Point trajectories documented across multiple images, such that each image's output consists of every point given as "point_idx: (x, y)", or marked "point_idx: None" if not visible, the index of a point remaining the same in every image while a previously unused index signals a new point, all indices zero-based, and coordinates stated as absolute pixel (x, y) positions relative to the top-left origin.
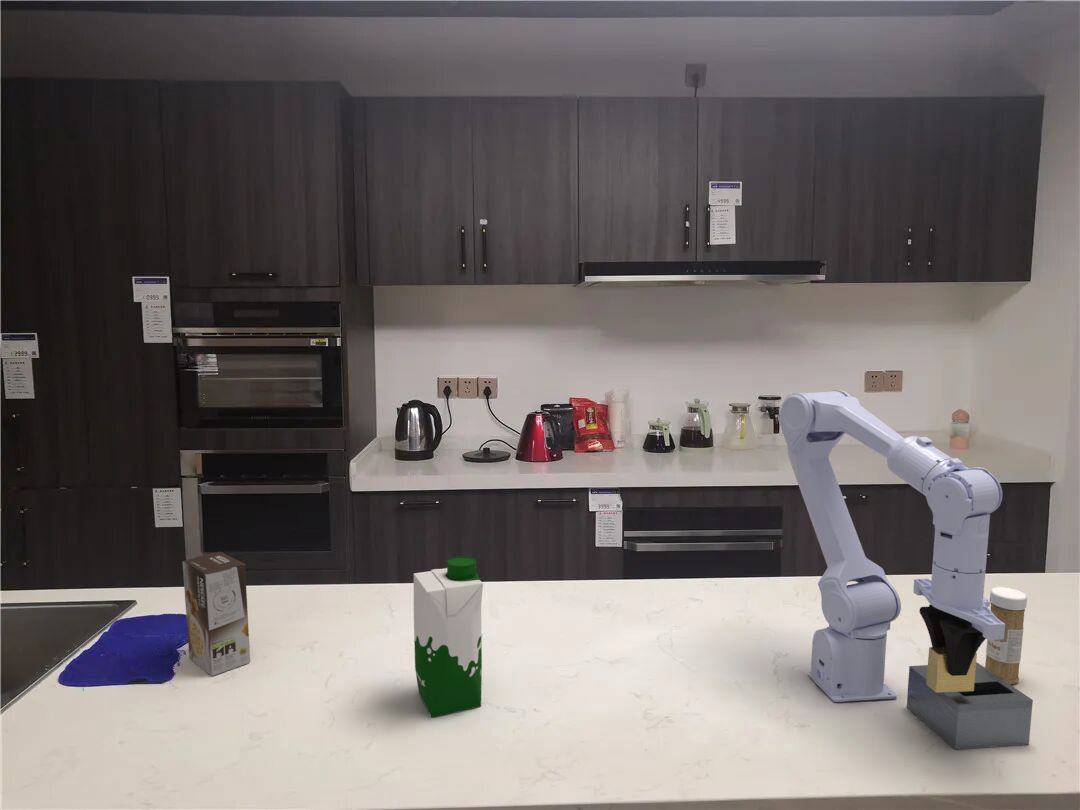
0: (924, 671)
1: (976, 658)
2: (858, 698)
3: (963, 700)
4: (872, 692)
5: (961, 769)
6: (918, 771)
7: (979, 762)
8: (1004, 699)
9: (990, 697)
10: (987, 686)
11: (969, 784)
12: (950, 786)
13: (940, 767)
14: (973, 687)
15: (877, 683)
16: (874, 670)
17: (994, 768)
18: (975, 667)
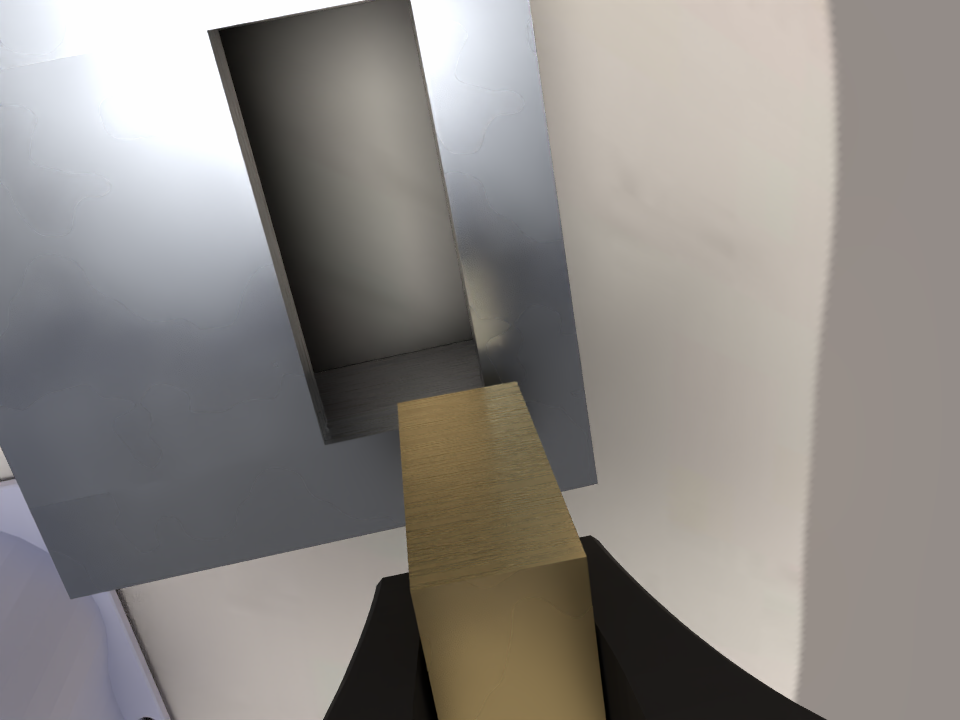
0: (139, 530)
1: (570, 521)
2: (140, 661)
3: (545, 435)
4: (89, 610)
5: (685, 396)
6: (692, 562)
7: (635, 295)
8: (515, 140)
9: (495, 236)
10: (242, 125)
11: (784, 408)
12: (790, 483)
13: (669, 474)
14: (523, 398)
15: (55, 619)
16: (42, 704)
17: (682, 248)
18: (554, 477)
